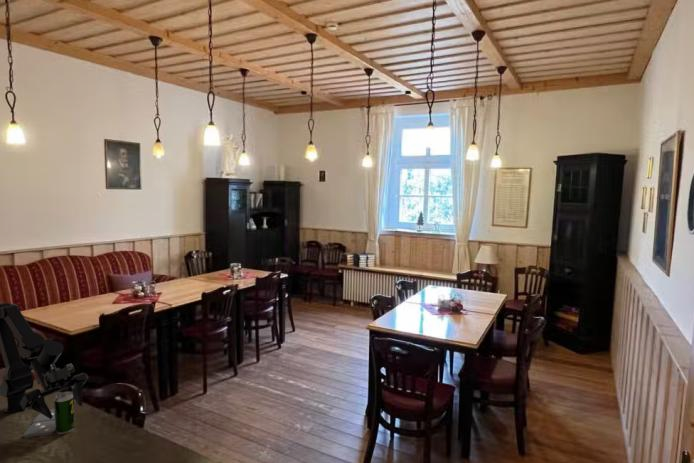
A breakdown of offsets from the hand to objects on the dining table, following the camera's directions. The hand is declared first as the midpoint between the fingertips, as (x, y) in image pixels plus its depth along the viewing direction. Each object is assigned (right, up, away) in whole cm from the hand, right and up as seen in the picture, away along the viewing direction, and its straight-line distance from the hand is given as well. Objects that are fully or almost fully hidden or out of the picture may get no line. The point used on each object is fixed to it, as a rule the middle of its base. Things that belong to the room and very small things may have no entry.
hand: (66, 411), depth 138 cm
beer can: (-1, -7, +1) cm, 7 cm away
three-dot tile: (-9, -7, +2) cm, 11 cm away
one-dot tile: (-12, -6, +10) cm, 16 cm away
